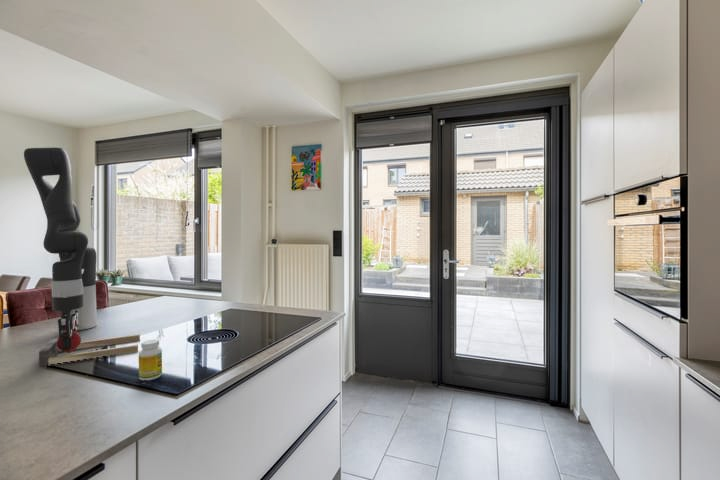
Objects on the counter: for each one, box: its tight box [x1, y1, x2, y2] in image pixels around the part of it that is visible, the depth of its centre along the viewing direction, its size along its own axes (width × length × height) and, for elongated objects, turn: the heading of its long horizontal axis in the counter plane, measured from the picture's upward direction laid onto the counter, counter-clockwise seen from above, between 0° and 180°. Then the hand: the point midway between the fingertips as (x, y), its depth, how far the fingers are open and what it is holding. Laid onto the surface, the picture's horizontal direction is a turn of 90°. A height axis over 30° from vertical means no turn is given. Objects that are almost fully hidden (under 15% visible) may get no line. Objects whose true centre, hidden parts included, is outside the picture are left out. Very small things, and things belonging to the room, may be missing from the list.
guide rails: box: [38, 333, 141, 368], centre depth 110 cm, size 14×24×4 cm, turn 121°
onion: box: [57, 330, 82, 354], centre depth 107 cm, size 6×6×8 cm
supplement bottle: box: [138, 339, 163, 381], centre depth 91 cm, size 5×5×10 cm
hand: (69, 346), depth 107 cm, fingers closed on onion, 6 cm apart
